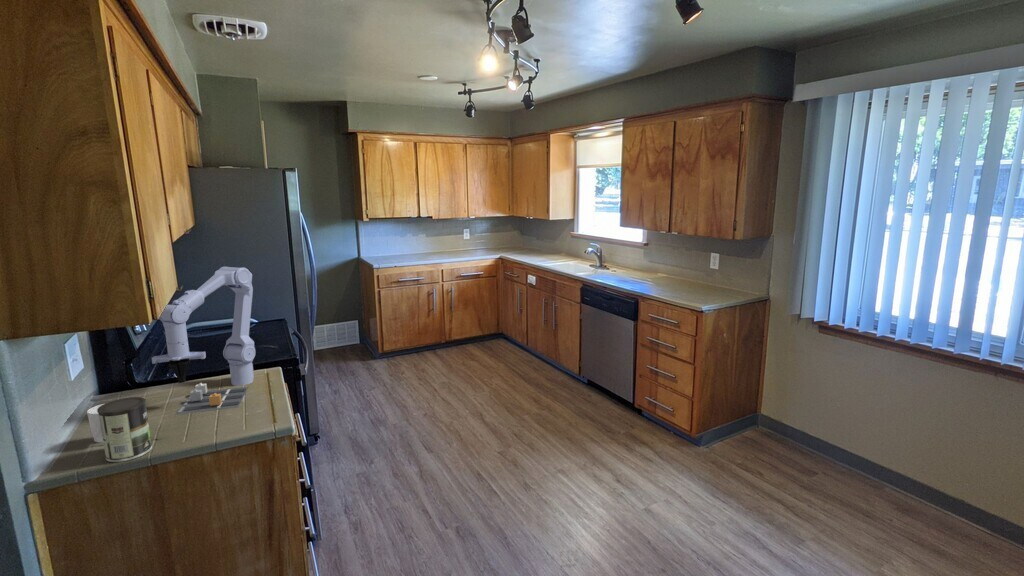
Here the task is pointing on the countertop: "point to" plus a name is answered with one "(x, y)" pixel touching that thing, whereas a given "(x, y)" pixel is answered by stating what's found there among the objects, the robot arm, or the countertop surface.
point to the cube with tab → (202, 387)
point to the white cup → (95, 423)
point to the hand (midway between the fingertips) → (182, 381)
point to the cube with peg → (196, 395)
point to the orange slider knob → (215, 399)
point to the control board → (229, 400)
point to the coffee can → (125, 429)
